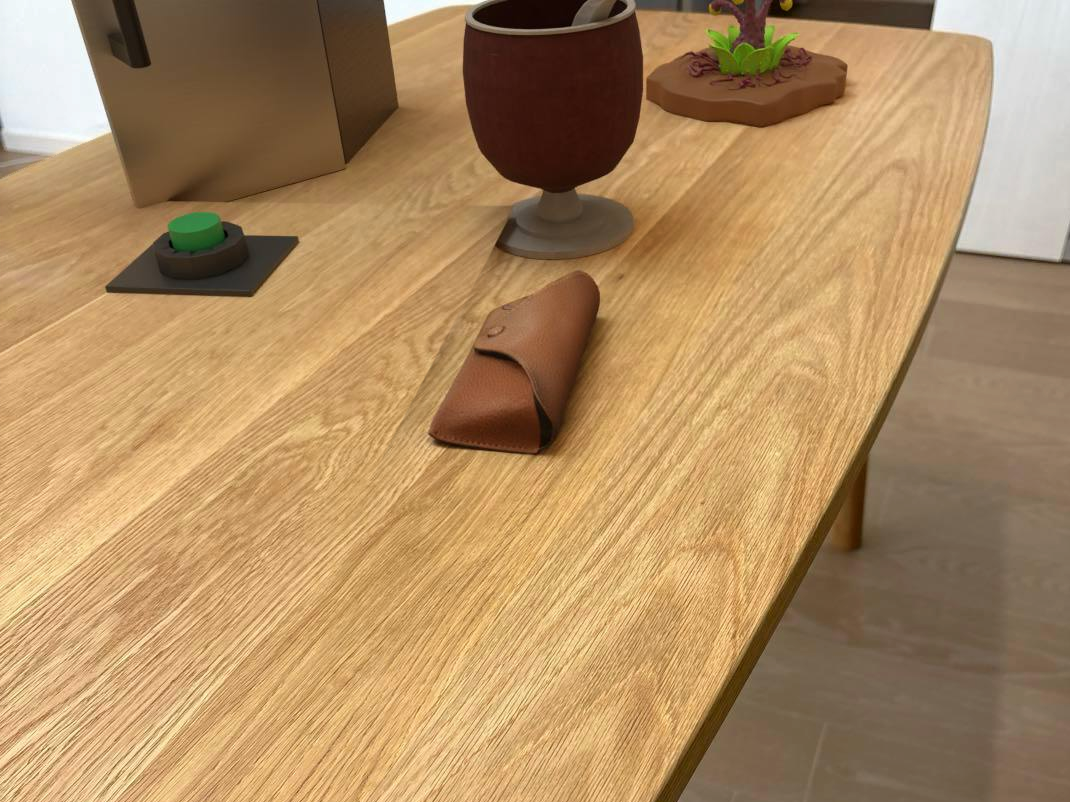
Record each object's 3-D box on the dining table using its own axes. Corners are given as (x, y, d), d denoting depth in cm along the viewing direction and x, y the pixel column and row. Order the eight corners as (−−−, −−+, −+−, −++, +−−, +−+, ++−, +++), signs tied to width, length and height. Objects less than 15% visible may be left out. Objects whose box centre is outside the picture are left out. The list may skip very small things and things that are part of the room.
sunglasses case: (486, 305, 79) (526, 231, 75) (569, 351, 80) (613, 281, 76) (421, 441, 65) (466, 360, 61) (522, 494, 66) (573, 419, 62)
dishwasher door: (373, 184, 101) (325, -111, 86) (164, 245, 93) (70, -71, 77) (340, 165, 106) (290, -119, 90) (139, 221, 97) (46, -81, 82)
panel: (113, 312, 83) (96, 264, 81) (171, 257, 91) (157, 212, 88) (256, 317, 81) (244, 268, 78) (303, 261, 88) (293, 214, 86)
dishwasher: (346, 165, 106) (296, -122, 91) (158, 164, 110) (79, -111, 94) (399, 107, 119) (362, -150, 104) (230, 108, 123) (171, -140, 108)
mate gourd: (446, 232, 91) (414, -28, 79) (566, 185, 98) (555, -61, 85) (567, 285, 82) (554, 0, 69) (692, 230, 88) (699, -40, 76)
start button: (164, 253, 82) (158, 231, 81) (187, 232, 85) (181, 211, 84) (212, 254, 82) (206, 232, 81) (233, 233, 85) (228, 212, 84)
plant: (614, 105, 115) (613, -9, 108) (715, 59, 126) (719, -47, 119) (777, 136, 105) (786, 12, 98) (871, 83, 116) (886, -32, 109)
